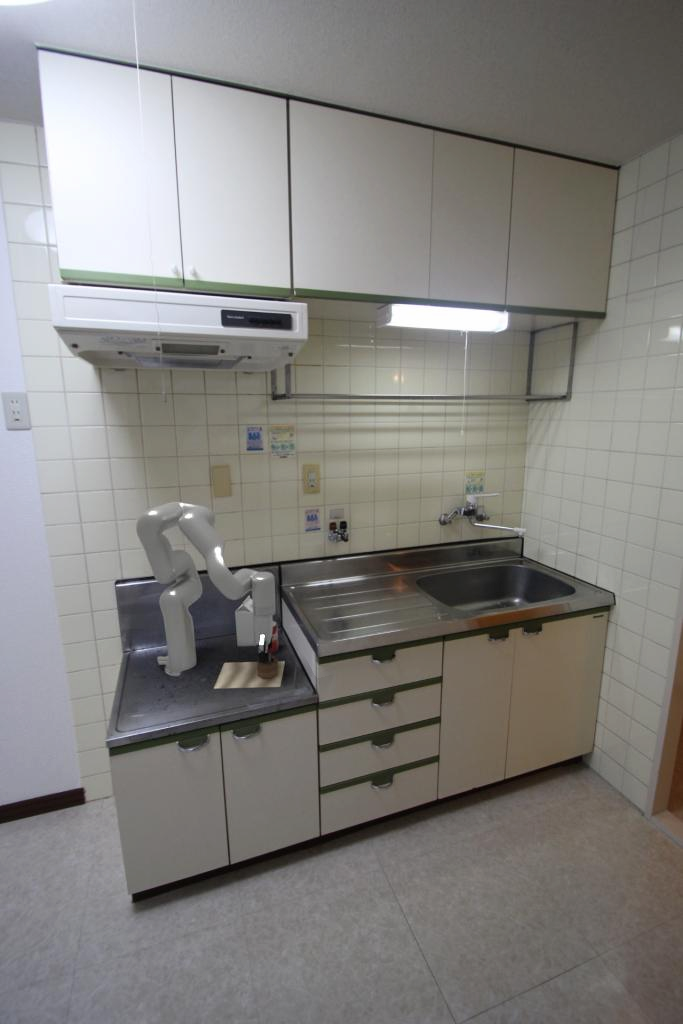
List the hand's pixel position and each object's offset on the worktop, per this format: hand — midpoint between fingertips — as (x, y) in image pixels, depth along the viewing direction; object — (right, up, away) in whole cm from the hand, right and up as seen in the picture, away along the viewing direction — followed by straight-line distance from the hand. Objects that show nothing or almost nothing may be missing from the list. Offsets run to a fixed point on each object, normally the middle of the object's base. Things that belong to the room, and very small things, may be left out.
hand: (265, 654), depth 161 cm
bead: (+1, -7, +2) cm, 7 cm away
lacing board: (-5, -9, +2) cm, 10 cm away
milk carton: (-11, -4, +26) cm, 28 cm away
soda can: (-2, -5, +18) cm, 19 cm away
